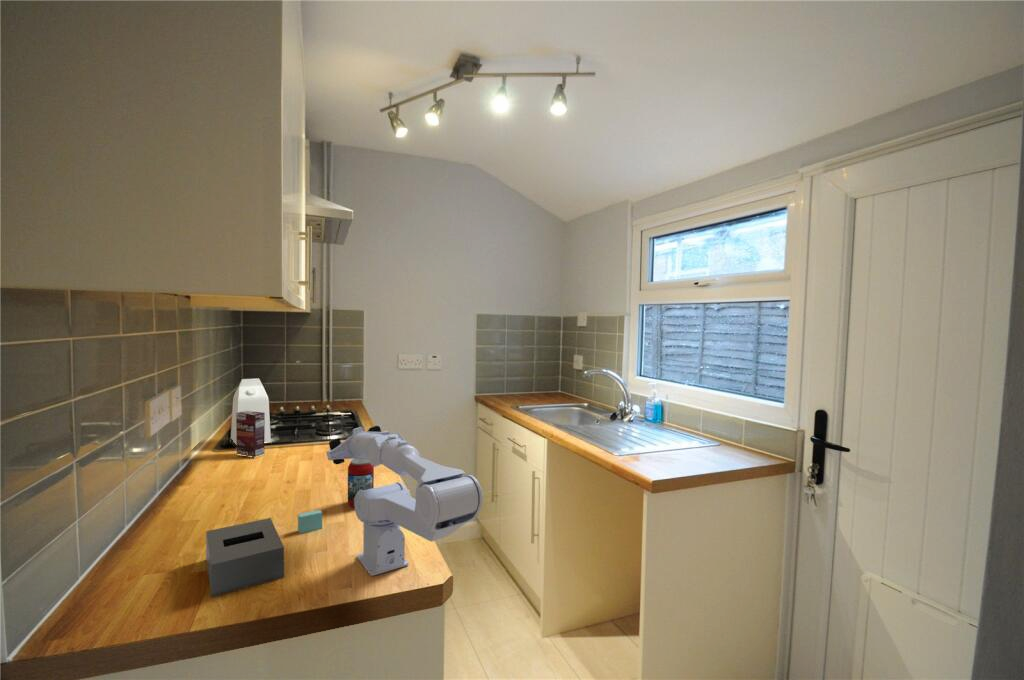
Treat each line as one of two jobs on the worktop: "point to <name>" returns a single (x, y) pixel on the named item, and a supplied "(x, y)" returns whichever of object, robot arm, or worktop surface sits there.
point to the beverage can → (359, 478)
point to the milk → (251, 404)
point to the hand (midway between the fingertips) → (347, 442)
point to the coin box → (243, 556)
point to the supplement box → (250, 433)
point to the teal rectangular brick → (309, 521)
